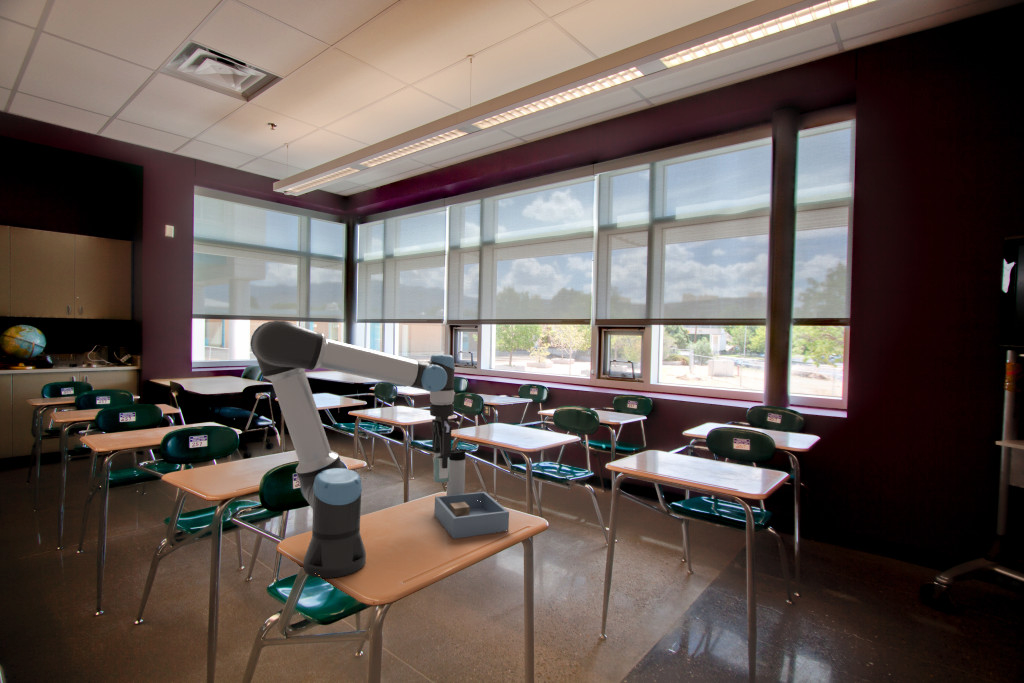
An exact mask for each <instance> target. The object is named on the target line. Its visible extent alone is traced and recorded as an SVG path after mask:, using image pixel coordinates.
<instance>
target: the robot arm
mask: <svg viewBox="0 0 1024 683" xmlns="http://www.w3.org/2000/svg"><path fill="white" fill-rule="evenodd" d="M250 349H251V352H252V354H253V355H254V356H255V358H256V361H257V364H258V367H259V370H260V372H261V375H262V377H263V378H264V379H266V380H267V381H269V382H271V384H272V387H273V390H274V393H275V396H276V398H277V402H278V404H279V407H280V410H281V412H282V413H281V414H282V416H283V419H284V422H285V425H286V427H287V429H288V430H287V431H288V433H289V437H290V439H291V442H292V444H293V447H294V450H295V453H296V457H297V459H298V465H297V466H296V468H295V472H296V475H297V478H298V481H299V485H300V492H301V494H302V497H303V498H304V499H305V501H307V503H308V504H309V506H310V507H311V509H312V524H311V525H312V526H311V528H312V531H311V539H310V542H309V545H308V547H307V550H306V552H305V556H304V557H303V571H304V573H306V575H309V576H312V577H315V578H319V579H333V578H340V577H345V576H348V575H352V574H353V573H357V572H358V571H360V570H361V569H362V568H363V567H365V565H366V563H367V562H366V560H367V558H366V557H367V553H366V548H365V546H364V541H363V539H362V538H363V537H362V535H361V510H362V509H361V507H362V506H361V505H362V491H363V485H362V478H361V476H360V474H359V473H358V472H356V471H355V470H354V469H353V470H352V469H348V468H345V467H343V464H342V461H341V458H340V455H339V453H338V452H336V451H334V450H332V449H331V446H330V444H329V439H328V436H327V435H326V434H327V433H326V431H325V429H324V425H323V422H322V420H321V419H322V418H321V417H320V413H319V410H318V407H317V403H316V400H315V398H314V396H313V392H312V389H311V386H310V383H309V379H308V377H307V374H306V370H310V371H315V370H316V369H319V368H320V369H324V370H329V371H335V372H339V373H343V374H348V375H354V376H359V377H363V378H368V379H370V380H371V379H372V380H377V381H381V382H386V383H391V384H393V385H395V386H396V387H404V388H406V387H410V388H413V389H414V388H415V389H418V390H424V391H426V392H429V402H430V404H429V415H430V416H431V417H434V419H432V420H431V423H432V437H431V438H432V442H431V443H432V444H431V445H432V446H431V449H432V450H433V453H434V454H433V455H434V456H433V459H434V458H435V457H438V458H439V478H440V479H441V478H448V458H449V457H451V450H452V430H453V426H452V425H450V421H449V417H453V415H454V413H455V412H454V411H455V410H454V409H455V405H454V401H455V395H456V392H455V370H456V367H455V358H454V356H453V355H451V354H432V355H431V356H430V360H428V361H419V360H415V359H411V358H407V357H403V356H399V355H395V354H390V353H386V352H382V351H378V350H374V349H372V348H365V347H362V346H357V345H354V344H350V343H345V342H342V341H341V342H340V341H339V340H338V341H337V340H334V339H329V338H326V336H325V334H324V333H323V332H317V331H315V330H311V329H308V328H304V326H303V327H302V326H300V325H297V324H295V323H293V322H291V321H285V320H271V321H270V320H269V321H267V322H264V323H263V324H261V325H259V326H258V327H257V328H256V329H255V330H254V331H253V333H252V335H251V339H250ZM315 573H316V574H315ZM318 575H320V576H318ZM322 577H323V578H322Z"/></svg>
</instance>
